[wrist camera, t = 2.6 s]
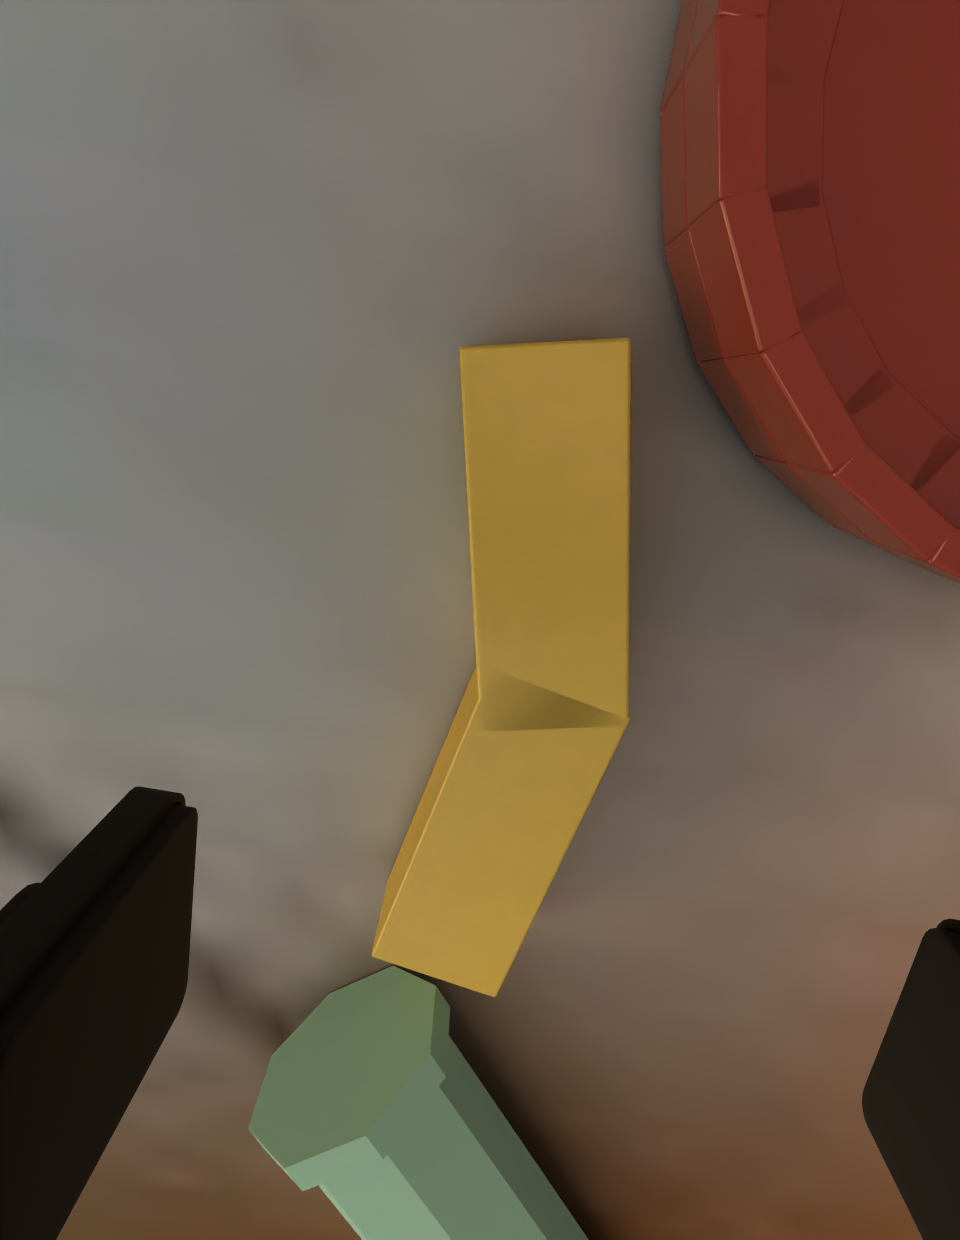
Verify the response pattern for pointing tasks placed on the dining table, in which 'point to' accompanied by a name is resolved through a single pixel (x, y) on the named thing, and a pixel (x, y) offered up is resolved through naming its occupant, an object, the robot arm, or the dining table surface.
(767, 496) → the dining table surface
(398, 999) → the pale green faceted rod
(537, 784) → the banana
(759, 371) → the bowl
